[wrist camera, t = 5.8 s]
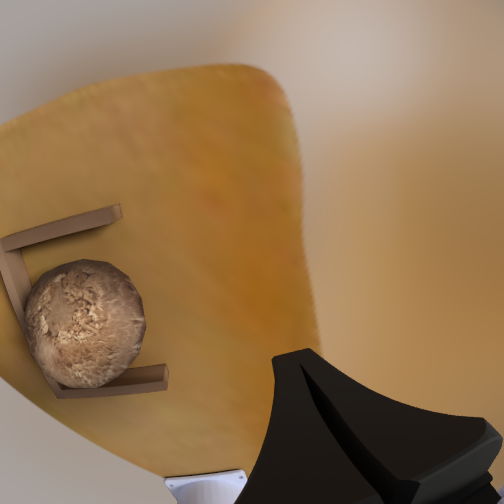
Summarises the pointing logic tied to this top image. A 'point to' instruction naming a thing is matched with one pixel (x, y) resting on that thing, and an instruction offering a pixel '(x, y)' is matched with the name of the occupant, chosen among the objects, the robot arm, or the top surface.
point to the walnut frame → (18, 287)
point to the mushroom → (84, 323)
